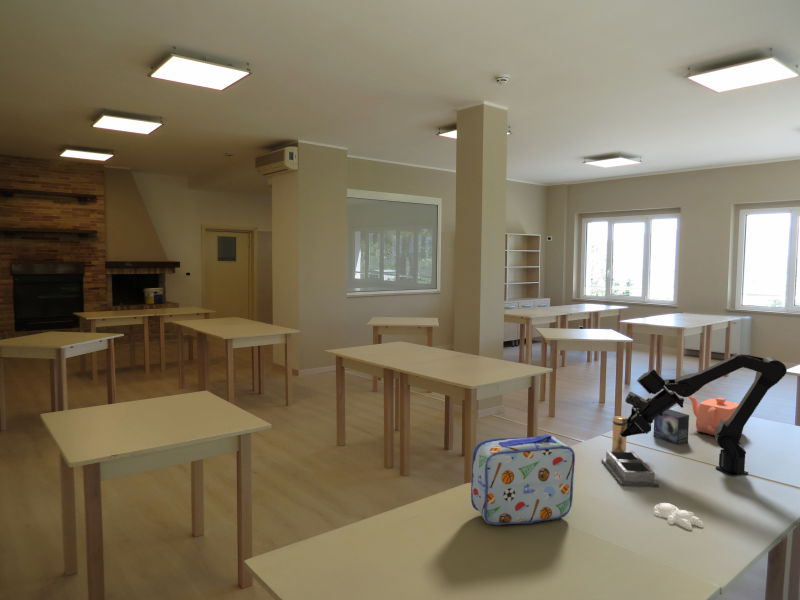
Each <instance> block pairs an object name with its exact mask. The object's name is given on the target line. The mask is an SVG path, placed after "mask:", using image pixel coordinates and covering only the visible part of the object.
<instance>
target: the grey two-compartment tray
mask: <svg viewBox="0 0 800 600" xmlns="http://www.w3.org/2000/svg"><path fill="white" fill-rule="evenodd" d="M601 462H602V464H603V465H604V466H605V467H606V469H607V470H608V472H609V473H611V475H612V476H613V477H614V479H615V480H616V481H617V482H618V484H619V485H620V486H621V487H643V488H644V487H646V488H648V487H649V488H660V483H659V482H658V481H657V479H655V472H654V471H653V469H651V468H650V466H648V465H647V464H646V463H645V461H643V459H642V458H640V457H639V455H637V454H636V453H635V451H633V450H626V451H612V450H606V455H605V458H604V457H602V458H601Z"/></svg>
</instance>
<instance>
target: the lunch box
mask: <svg viewBox="0 0 800 600" xmlns="http://www.w3.org/2000/svg"><path fill="white" fill-rule="evenodd" d="M471 463H472V464H471V465H472V466H471V485H470V486H471V487H470V492H471V493H470V501H471V505H472V507H473V508H474V509H475V510H476V511H478V512H479V514H480V515H481V517H482V518H483V520H484V521H485V523H487V524H489V525H513V524H527V525H528V524H533V523H537V522H544V521H550V520H557V519H562V518H564V517H566V516H567V515H568V514H569V512H570V510H571V508H572V506H573V505H572V504H573V496H574V476H575V465H576V464H575V463H576V454H575V451H574V449H573V447H571V446H569V445H567V444H565V443H563V442H562V441H560V440H559V438H557V437H556V436H554V435H549V434H543V435H537V436H525V437H524V436H523V437H522V436H521V437H505V438H504V437H503V438H493V439H487V440H484V441H481V442H479V443H478V444H477V445H476V447H475V448H474V450H473V453H472V462H471Z"/></svg>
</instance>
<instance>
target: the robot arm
mask: <svg viewBox="0 0 800 600" xmlns="http://www.w3.org/2000/svg"><path fill="white" fill-rule="evenodd" d="M741 368H745V369H747V370H751V371H754V372H756V373H755V377H754V381H753V383H752V384H751V386H749V388H748V390H747V392H746V393H745V394H744V396H743V397H742V399H741V400H740V402H739V405H738V407H737V408H736V410H735V411H734V413H733V414H732V416H731V417H730V418H729V419H728V420H727V421H723V420H722V419H721V420H720V422H719V424H718V426H717V427H716V428H714V430H715V435H714V438H715V440H716V443H717V445H718V446H719V447H720V448H721V449H720V453H719V454H718V455H719V456H718V457H719V458H718V466H715V469H716V470H718V471H721V472H722V473H726V474H727V475H729V476H732V477H735V476H742V475H743V476H744V475H748V474H749V471H746V470H745V465H746V454H747V451H746V449H745V447H744V446H743V444H742V442H741V438H742V435H743V432H744V431H743V430H744V427H745V426H746V424H747V423H748V421H749V419H750V418H751V417H752V414H753V413H754V412H755V411H756V409H757V408H758V405H760V403H761V401H762V400H763V399H764V397H765V396H766V394H767V392H768V391H769V390H770V389H771V388H772V387H774V386H775V385H777V384H778V383H779V382H780V381H781V380H782V379H783V378H784V377H785V376H786V374H787V366H786V365H785V364H784V363H783V362H782V361H780V360H779V359H778V358H776V357H774V356H769V357H767V356H766V357H761V356H755V355H749V354H745V353H743V352H738V353H735V354H734V355H732V356H730V357H728V358H727V359H726V358H725V359H724V360H722V361H720V362H717V363H715V364H713V365H711V366H709V367H707V368H704V369H702V370H700V371H697V372H692V373H688V374H684V375H680V376H677V377H676V378H672V379H671V378H667V379H666V378H665V379H664V377H662V376H661V375H660V374H659V372H658V371H657V370H656V369H655V368H652V369H651V370H648V371H646V372H644V373H643V374H642V375H640V377H637V379H636V382H637V383H639V385H640V386H641V387H642V388H643V389H644V390H645V391H646V392H647V394H649V395H650V394H652V395H654V396H652V397H648V398H647V399H645V398H643V397H642V396H640V395H638V394H637V393H635V392H633V391H629V392H628V394H627V396H626V397H625V403H627V404H628V405H632V407H631V413H630V415H629V416H628V417H627V428H626V429H625V430H624V431H623V432H622V433H621V436H622V437H625V436H626V437H629V436H635V435H641V434H643V435H645V434H646V435H647V434H648V433H650V432H651V431H652V424H654V419H656V418H657V417H658V416H663V415H664V414H663V413H664V412H665V411H667V410H668V409H670V410H671V408H673V406H675V405H676V404H677V405H678V406H679V407H680V408H681V409H683V408H684V402H685V399H684V398H688V397H689V396H692V395H694V394H695V393H697V392H698V391H700V390H701V389H702V388H703V387H704V386H705V385H707V384H710V383H711V382H714V381H716V380H718V379H720V378H722V377H724V376H727V375H729V374H731V373H733V372H735V371H737V370H739V369H741Z"/></svg>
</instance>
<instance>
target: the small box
mask: <svg viewBox="0 0 800 600" xmlns="http://www.w3.org/2000/svg"><path fill="white" fill-rule="evenodd" d="M663 414H664V415H663V416H658V417H657V418H656V419H654V420H653V434H652V435H653V437H656V438H658V439H661V440H663V441H667V442H669V443H671V444H675V445H682V444H687V443H689V426H690V424H689V423H690V414H686V413H684V412H680V411H677V410H673V409H671V408H670V409H668V410H667V411H665V412H664V413H663Z"/></svg>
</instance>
